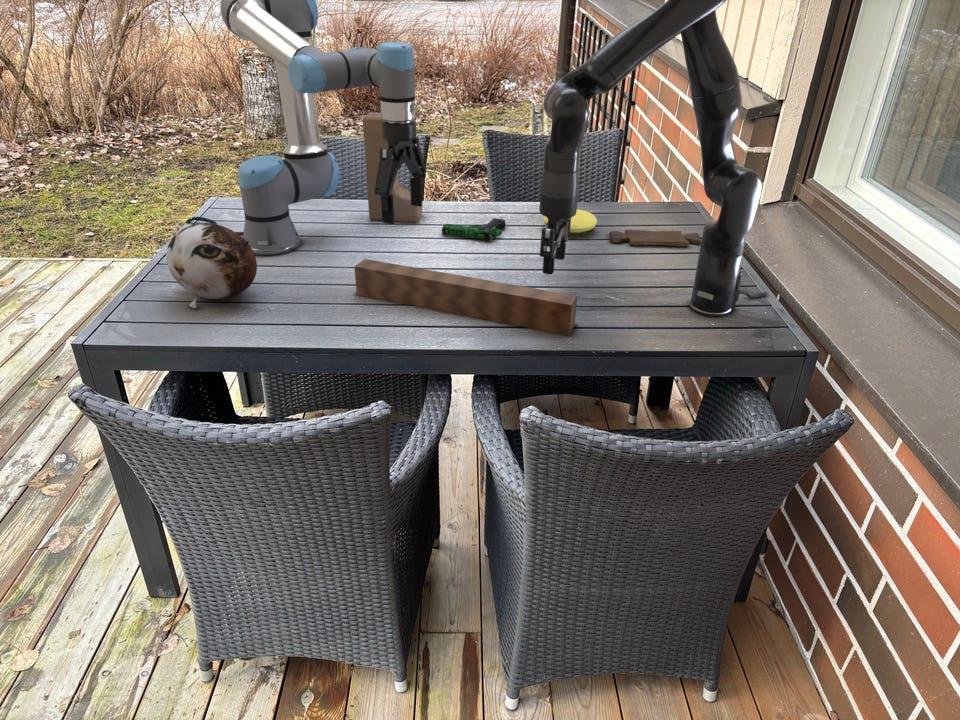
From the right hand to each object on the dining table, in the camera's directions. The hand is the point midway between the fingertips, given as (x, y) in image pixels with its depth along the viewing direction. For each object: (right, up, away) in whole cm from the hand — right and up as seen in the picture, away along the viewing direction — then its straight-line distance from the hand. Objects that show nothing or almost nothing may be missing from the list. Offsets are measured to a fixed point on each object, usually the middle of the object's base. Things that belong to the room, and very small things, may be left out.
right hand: (553, 265), depth 151 cm
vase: (+11, +19, +60) cm, 64 cm away
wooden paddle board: (+34, +14, +53) cm, 65 cm away
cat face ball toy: (-78, -5, +18) cm, 80 cm away
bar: (-20, -8, +14) cm, 26 cm away
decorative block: (-41, +23, +66) cm, 81 cm away
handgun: (-17, +17, +57) cm, 61 cm away
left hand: (-34, +14, +16) cm, 40 cm away
